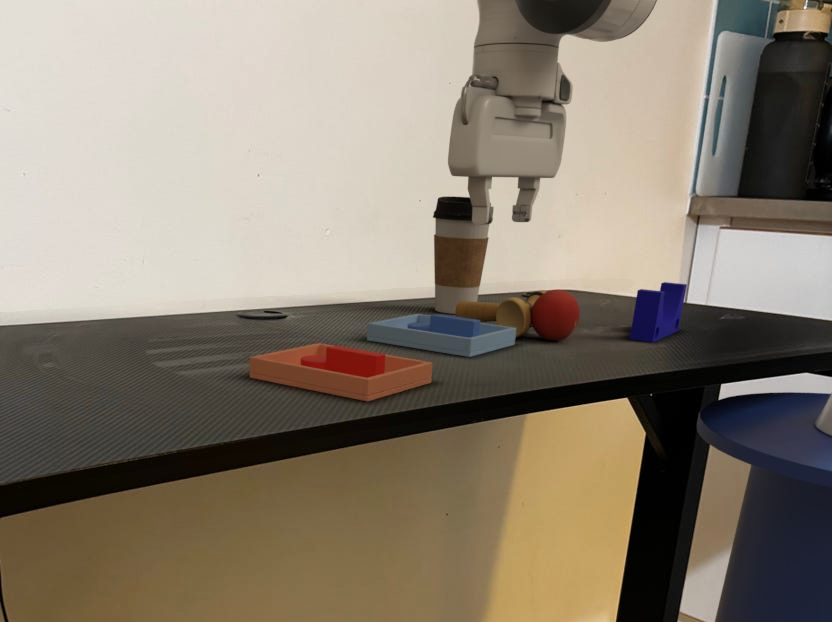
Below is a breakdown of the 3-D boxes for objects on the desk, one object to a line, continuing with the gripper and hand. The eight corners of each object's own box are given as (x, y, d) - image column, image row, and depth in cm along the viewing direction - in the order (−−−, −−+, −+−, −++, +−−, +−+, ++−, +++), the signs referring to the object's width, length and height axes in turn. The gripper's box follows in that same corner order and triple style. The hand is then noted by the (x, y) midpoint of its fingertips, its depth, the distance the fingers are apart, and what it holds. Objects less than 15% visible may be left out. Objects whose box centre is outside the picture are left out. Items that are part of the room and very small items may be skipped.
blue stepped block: (482, 341, 115) (484, 319, 114) (467, 345, 113) (469, 322, 111) (417, 331, 120) (418, 309, 119) (401, 334, 117) (402, 312, 116)
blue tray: (514, 344, 117) (516, 327, 116) (469, 357, 109) (471, 339, 108) (416, 329, 124) (417, 313, 123) (366, 340, 116) (367, 323, 115)
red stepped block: (390, 379, 94) (391, 352, 93) (369, 385, 92) (370, 357, 90) (315, 365, 99) (315, 339, 98) (293, 370, 96) (293, 343, 95)
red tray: (431, 382, 96) (433, 362, 95) (367, 401, 88) (368, 379, 87) (318, 362, 103) (318, 342, 102) (249, 377, 95) (249, 357, 94)
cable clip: (645, 326, 134) (653, 281, 131) (678, 330, 132) (686, 284, 129) (618, 337, 125) (626, 288, 122) (652, 342, 122) (661, 292, 120)
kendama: (439, 336, 128) (554, 337, 115) (444, 286, 126) (560, 281, 114) (476, 342, 133) (588, 343, 121) (480, 293, 131) (595, 290, 119)
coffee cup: (473, 306, 145) (483, 197, 138) (492, 315, 137) (503, 200, 131) (419, 306, 143) (426, 195, 136) (435, 315, 136) (444, 198, 129)
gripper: (493, 71, 92) (482, 227, 99) (579, 87, 108) (565, 222, 114) (437, 73, 96) (429, 224, 102) (528, 89, 111) (517, 219, 117)
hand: (502, 223), depth 108 cm, fingers open, 8 cm apart
